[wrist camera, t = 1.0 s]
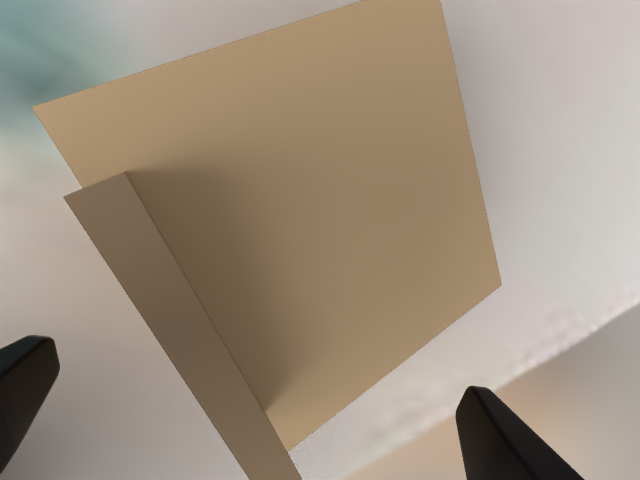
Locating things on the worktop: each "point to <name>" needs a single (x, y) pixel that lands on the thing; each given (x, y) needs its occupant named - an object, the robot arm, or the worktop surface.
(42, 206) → the worktop surface
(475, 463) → the robot arm
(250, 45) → the lid
